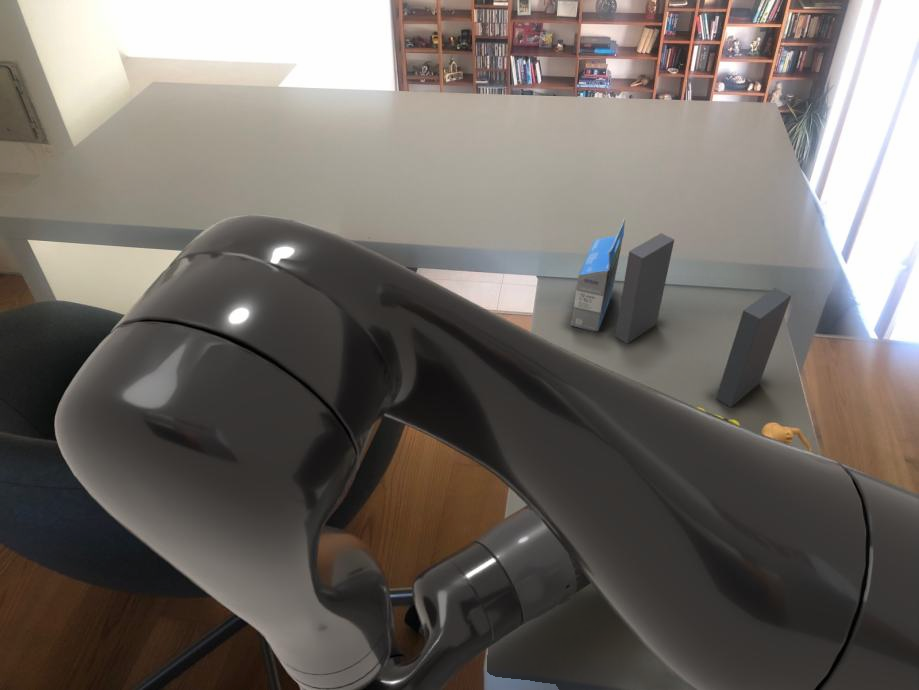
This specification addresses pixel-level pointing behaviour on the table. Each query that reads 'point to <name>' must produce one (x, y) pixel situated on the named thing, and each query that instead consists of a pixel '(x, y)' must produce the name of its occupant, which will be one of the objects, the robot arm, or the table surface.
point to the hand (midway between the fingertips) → (692, 459)
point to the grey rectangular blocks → (752, 332)
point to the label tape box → (596, 282)
